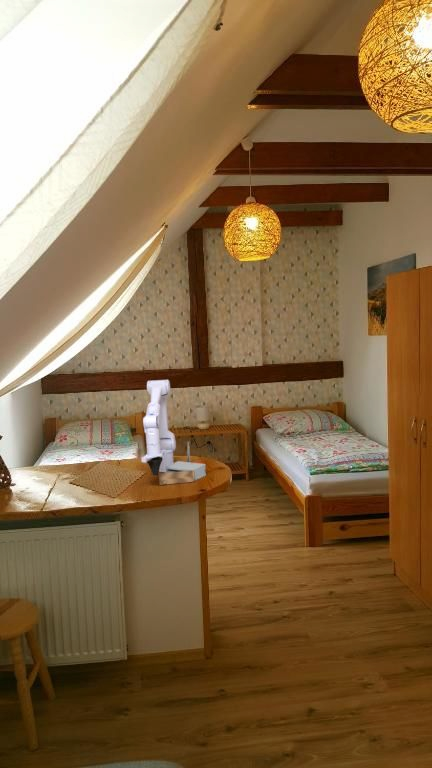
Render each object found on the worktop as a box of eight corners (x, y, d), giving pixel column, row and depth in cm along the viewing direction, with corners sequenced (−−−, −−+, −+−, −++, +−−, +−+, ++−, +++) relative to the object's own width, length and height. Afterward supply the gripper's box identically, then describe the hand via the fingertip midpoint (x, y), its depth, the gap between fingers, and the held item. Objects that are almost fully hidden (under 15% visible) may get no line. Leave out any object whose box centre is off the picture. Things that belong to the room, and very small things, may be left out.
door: (194, 480, 247) (193, 470, 246) (195, 482, 245) (194, 471, 244) (159, 484, 245) (158, 473, 244) (159, 485, 243) (159, 475, 242)
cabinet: (166, 477, 255) (165, 466, 254) (178, 471, 264) (178, 461, 263) (193, 481, 247) (193, 470, 247) (206, 474, 256) (205, 464, 255)
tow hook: (200, 464, 276) (183, 466, 272) (199, 437, 275) (182, 440, 270) (208, 467, 269) (191, 470, 265) (208, 441, 268) (191, 443, 263)
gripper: (150, 448, 229) (152, 480, 230) (171, 440, 241) (173, 471, 243) (136, 446, 232) (138, 478, 234) (157, 439, 244) (160, 469, 246)
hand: (155, 475), depth 238 cm, fingers closed
